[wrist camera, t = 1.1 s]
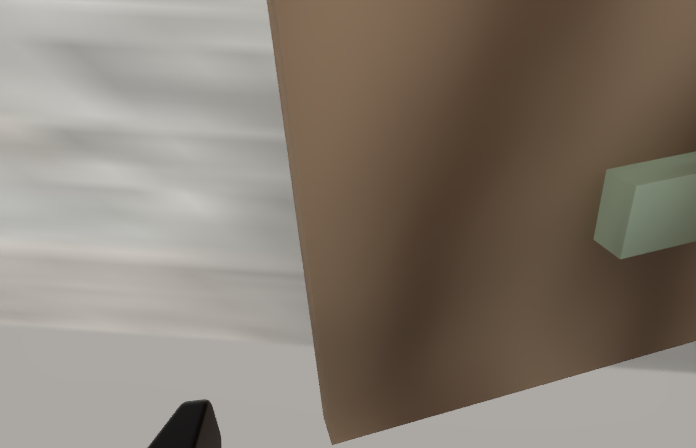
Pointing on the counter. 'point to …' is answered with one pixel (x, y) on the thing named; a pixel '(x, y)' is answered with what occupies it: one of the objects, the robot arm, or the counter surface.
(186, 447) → the robot arm
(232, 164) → the counter surface
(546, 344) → the instrument deck
